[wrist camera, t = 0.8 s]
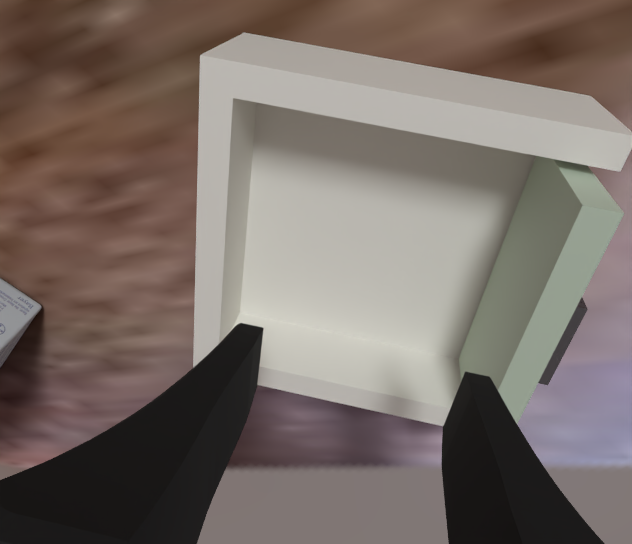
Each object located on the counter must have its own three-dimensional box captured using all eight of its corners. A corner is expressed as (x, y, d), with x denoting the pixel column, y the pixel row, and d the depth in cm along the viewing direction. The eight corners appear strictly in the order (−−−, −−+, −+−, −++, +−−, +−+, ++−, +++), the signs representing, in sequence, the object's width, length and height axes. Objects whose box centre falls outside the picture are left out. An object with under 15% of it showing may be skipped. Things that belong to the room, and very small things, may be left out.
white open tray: (590, 96, 18) (637, 136, 14) (480, 360, 24) (492, 437, 21) (244, 32, 19) (200, 55, 15) (227, 306, 25) (193, 370, 21)
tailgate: (591, 150, 17) (649, 218, 13) (496, 366, 22) (515, 465, 18) (541, 141, 17) (582, 205, 13) (458, 358, 22) (468, 454, 18)
